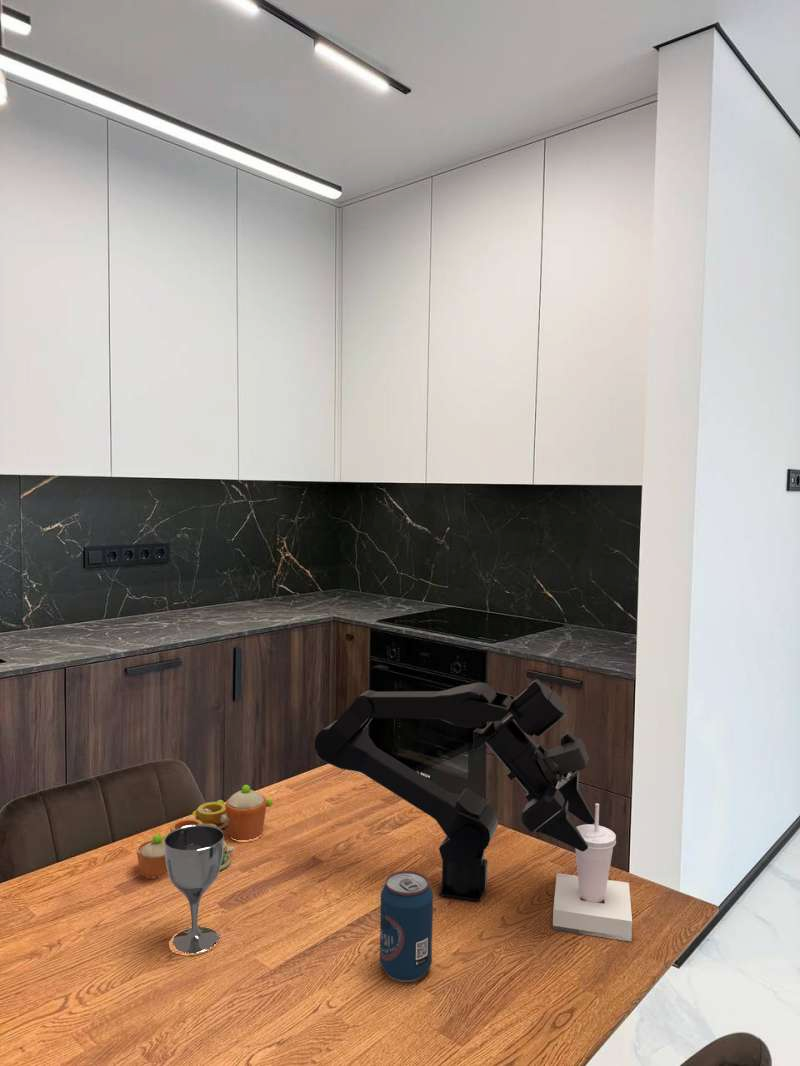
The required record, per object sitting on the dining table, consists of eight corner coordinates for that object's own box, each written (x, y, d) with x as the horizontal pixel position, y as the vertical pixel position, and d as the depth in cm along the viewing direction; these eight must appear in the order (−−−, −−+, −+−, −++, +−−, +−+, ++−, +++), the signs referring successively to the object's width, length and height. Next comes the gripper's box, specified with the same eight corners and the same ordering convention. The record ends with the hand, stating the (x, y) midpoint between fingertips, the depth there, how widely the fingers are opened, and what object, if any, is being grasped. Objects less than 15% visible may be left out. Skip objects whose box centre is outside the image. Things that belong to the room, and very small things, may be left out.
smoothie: (622, 897, 115) (625, 806, 114) (597, 912, 111) (601, 818, 110) (586, 880, 120) (589, 792, 119) (561, 894, 116) (564, 803, 115)
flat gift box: (552, 929, 112) (553, 909, 112) (556, 891, 123) (556, 872, 122) (631, 941, 109) (632, 921, 109) (628, 901, 120) (628, 882, 120)
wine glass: (234, 931, 110) (234, 829, 109) (202, 963, 103) (202, 854, 102) (186, 920, 113) (186, 820, 112) (152, 950, 105) (152, 844, 104)
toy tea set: (206, 814, 149) (206, 766, 149) (279, 826, 145) (279, 776, 144) (119, 879, 125) (118, 821, 124) (203, 896, 120) (203, 836, 119)
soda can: (369, 964, 103) (370, 877, 102) (410, 946, 107) (412, 863, 106) (400, 992, 98) (401, 901, 97) (442, 972, 102) (444, 884, 101)
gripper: (547, 741, 107) (626, 831, 104) (566, 705, 125) (634, 782, 122) (490, 787, 111) (565, 876, 107) (516, 746, 128) (581, 822, 125)
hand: (589, 836), depth 115 cm, fingers open, 9 cm apart
